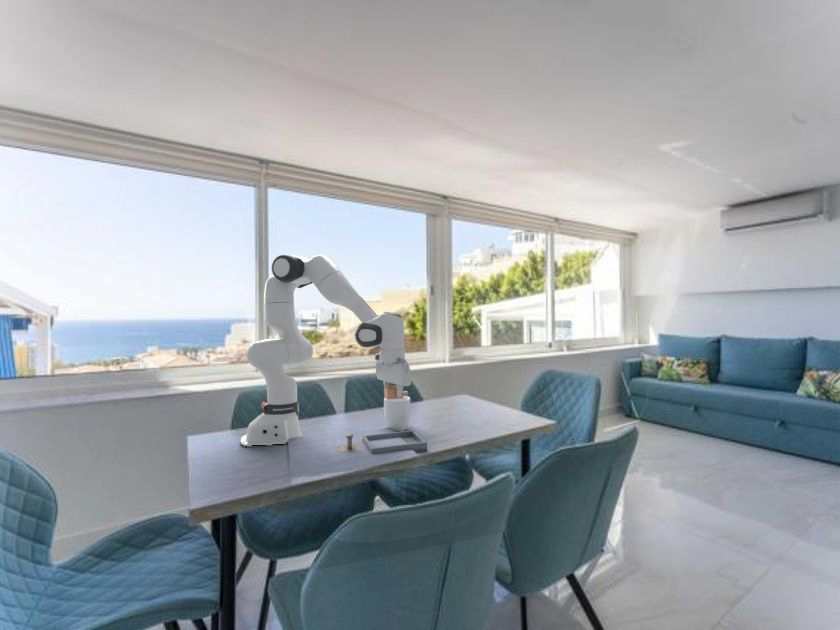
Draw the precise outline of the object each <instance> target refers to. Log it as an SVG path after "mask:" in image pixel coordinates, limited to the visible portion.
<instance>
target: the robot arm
mask: <svg viewBox="0 0 840 630" xmlns="http://www.w3.org/2000/svg"><path fill="white" fill-rule="evenodd" d="M271 272H272V276H270V277H268V278H267V280H266V282H265V286H264V296H263V297H264V298H263V299H264V300H263V301H264V321H265V324H266V326H268V327H269V329H270V328H271V329H272V330H274V331H276V332H277V334H278V336H279V338H273V339H262V340H258V341H255V342H252V343H251V344H250V346H249V347H248V351H247V359H248V362H249V364H250V365H251V366H252V367H253V368H254V369H256V370H258V372H259V373H261V375H262V376H263V378H264V381H265V385H266V393H267V396H266V397H267V398H266V399H267V402H265V401H263V402H262V403H261V404H260V406H261V411H262V412H261V413H260V414H259V415H258V416H257V417H256V418H254V419H253V420H252V421H251V422H250V423H249V424H248V426H247V429H246V434H244V435H243V436H242V437H241V438H240V445H241V444H242V445H244V446H243V447H245V446H247V447H252V446H251V445H267V446H273V445H272V444H284V445H287V444H289V440H290V439H293V438H302V437H303V434H302V432H301V428H300V427H301V426H300V422H299V413H300V411H299V408H300V405H299V400H298V383H297V381H296V380H295V378H293V377H292V376H290V375H288V374H285V371H284V367H291V366H299V365H303V364H305V363H309V362H310V361H311V359H312V357H313V354H314V347H313V345H312V343H311V341H310V340H309V339H308V338H306V336H304V335H303V333H301V331H300V329H299V327H298V325H297V320H296V313H295V298H294V294H295V293H294V292H295V290H296V288H298V289H301V288H304V287H307V286H309V285H311V284H313V285H314V286H315V288H316V290H318V291H319V293H320V294H321V295H322V297H323V298H325V299H326V300H327V301H328V302H329V303H332V304H334V305H339V306H341V307H344V308H346V309H348V310H349V311H351V312H352V313H353V314H354V316H356V317H357V318H358V320H359V321H360V322H361V323H359V325H357V327H356V329H355V331H354V338H355V340H356V343H357V344H358V345H359V346H360V347H361V348H362V347H363V348H376V347H380V350H379V352H378V353H376V354H375V355H374V360H375V375H376V379H377V380H380V381H383V386H384V387H387V386H391V385H390V384H392V385H395V386H396V387H397V392H395V394H396V395H395V396H396V397H401V396H402V390H403V391H404V387H409V386H411V385H412V373H411V368H410V365H409V363H408V361H407V359H406V348H405V343H404V342H405V337H406V336H405V334H406V333H405V321H404V318H403V316H402V315H401V314H400V313H397V312H396V313H395V312H389V311H385V312H382V313H381V314H379V315H378V314H377V313H376V312H375V311H374V310H373V309H372V307H370V305H369V304H368V303H367V301H365V300H364V299H363V298H362V296H361V295H360V294H359V293H358V292H357V290H356V289H355V288H354V287H353V285H352V284H351V283H350V282H349V280H348V279H347V278H346V276H345V275H344V274H343V272H342V271H341V270H340V268H339V267H338V266H337V265H336V264H335V263H334V262H333V261H332V260H331V259H330V258H328V257H327V256H326V255H323V254H318V255H314V256H313V257H311V258H310V259H309V258H306V257H304V256H301V255H292V254H281V255H278V256H276V257H275V258H274V260H273V261H272V263H271ZM384 387H383V388H384ZM301 436H302V437H301ZM286 443H287V444H286ZM242 445H241V446H242Z"/></svg>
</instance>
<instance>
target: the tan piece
mask: <svg viewBox="0 0 840 630" xmlns="http://www.w3.org/2000/svg"><path fill="white" fill-rule="evenodd" d="M395 392H397V387H396V385H390V386H387V387H383V396H384V398H386V399H387V400H388V399H402V398H403V396H409V391H407V390H404V389H403V390H402V396H401V397H396V396H395V395H396V394H395Z"/></svg>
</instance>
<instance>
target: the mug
mask: <svg viewBox="0 0 840 630" xmlns="http://www.w3.org/2000/svg"><path fill="white" fill-rule="evenodd" d="M383 413H384V414H383V415H384V419H385V420H384V421H385V424H386V426H387V428H388V429H392V430H393V432H398V431H399V432H400V431H406V429H407V428H408V426H409V422H410V418H411V397H410V396H408V395H406V396H403V398H402V399H388V400H387V399H386V398H385V397H384V398H383Z"/></svg>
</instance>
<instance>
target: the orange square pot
mask: <svg viewBox="0 0 840 630" xmlns="http://www.w3.org/2000/svg"><path fill="white" fill-rule="evenodd" d="M345 438H346V439H347V441H346V443H347V444H346V445H338V449H339V450H340V452H341V453H349V452H350V453H351V452H357V451H358V452H359V451H362V448H361V447H360V444H358V443H355V444H354V443H353V438H354V435H353V434H352V433H349V434H346V437H345Z"/></svg>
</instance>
